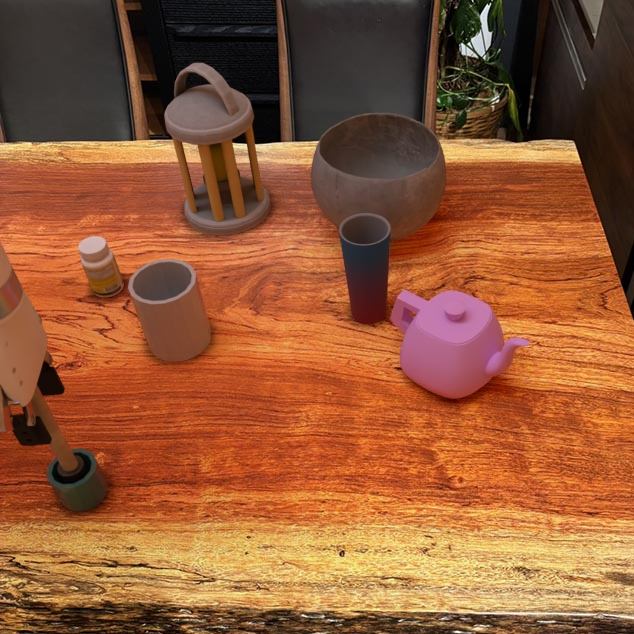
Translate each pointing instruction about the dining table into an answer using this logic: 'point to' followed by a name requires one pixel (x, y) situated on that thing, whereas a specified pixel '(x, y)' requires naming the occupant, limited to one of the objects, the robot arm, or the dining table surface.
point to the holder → (80, 484)
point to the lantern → (216, 154)
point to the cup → (366, 264)
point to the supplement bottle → (100, 267)
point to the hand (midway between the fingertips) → (43, 416)
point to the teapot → (451, 342)
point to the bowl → (380, 171)
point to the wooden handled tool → (59, 443)
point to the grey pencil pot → (170, 309)
